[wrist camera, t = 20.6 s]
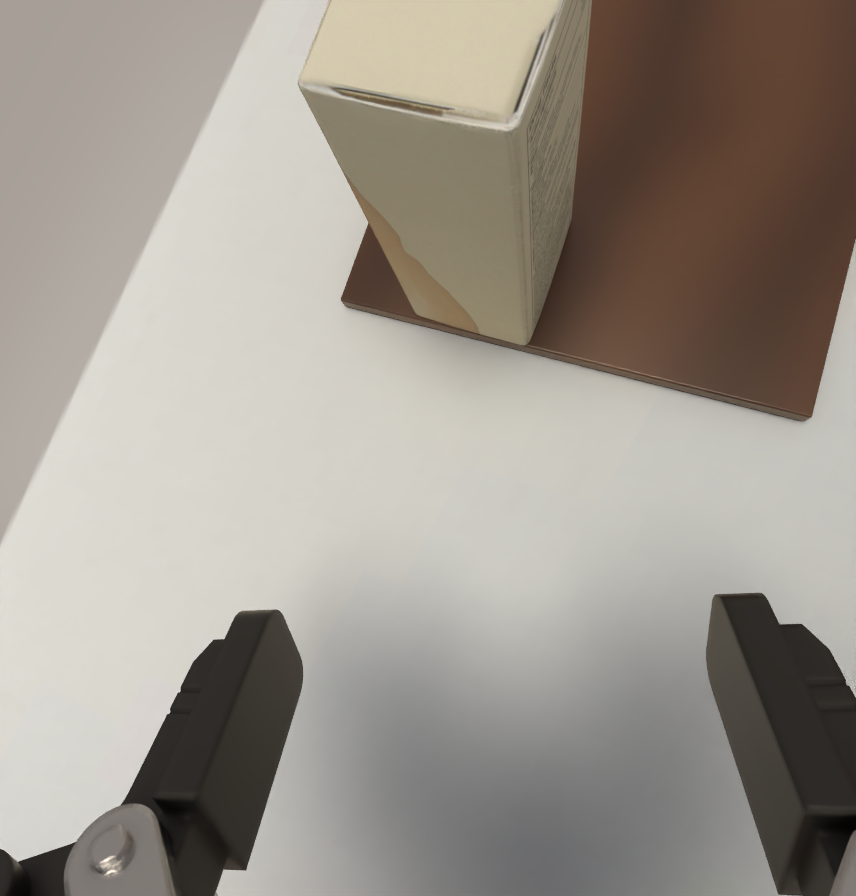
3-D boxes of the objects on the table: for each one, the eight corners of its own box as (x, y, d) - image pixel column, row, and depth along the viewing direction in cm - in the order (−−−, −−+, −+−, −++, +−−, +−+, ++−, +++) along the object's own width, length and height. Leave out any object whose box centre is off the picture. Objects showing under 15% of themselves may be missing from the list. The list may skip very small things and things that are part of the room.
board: (344, 306, 23) (339, 300, 22) (474, -51, 25) (472, -66, 24) (803, 422, 19) (812, 417, 19) (910, -7, 21) (921, -24, 21)
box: (460, 191, 22) (387, -159, 12) (576, 218, 21) (615, -139, 11) (410, 323, 22) (285, 81, 11) (527, 356, 21) (517, 125, 10)
